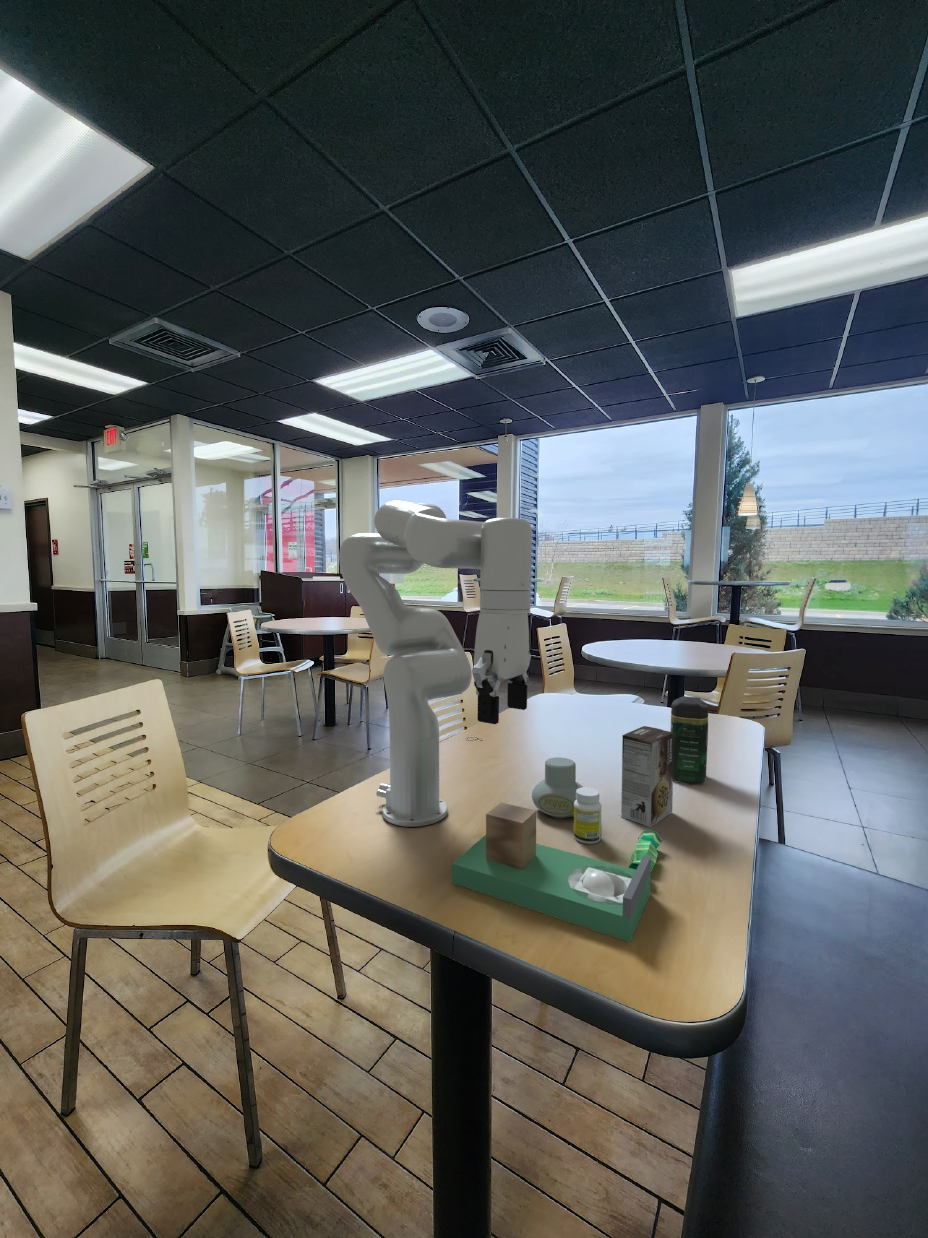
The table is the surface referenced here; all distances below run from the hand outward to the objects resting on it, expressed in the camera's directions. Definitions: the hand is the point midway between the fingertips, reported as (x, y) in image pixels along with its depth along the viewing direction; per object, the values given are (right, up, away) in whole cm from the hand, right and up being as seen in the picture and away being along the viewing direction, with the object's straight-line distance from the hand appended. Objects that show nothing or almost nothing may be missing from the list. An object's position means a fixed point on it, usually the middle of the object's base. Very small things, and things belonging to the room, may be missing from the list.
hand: (503, 715), depth 81 cm
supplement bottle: (+16, -24, +12) cm, 31 cm away
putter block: (+1, -22, 0) cm, 22 cm away
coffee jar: (+45, -22, +41) cm, 65 cm away
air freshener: (+13, -23, +23) cm, 35 cm away
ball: (+13, -23, -7) cm, 27 cm away
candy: (+23, -25, +4) cm, 34 cm away
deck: (+7, -25, -3) cm, 26 cm away
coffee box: (+29, -23, +22) cm, 43 cm away
